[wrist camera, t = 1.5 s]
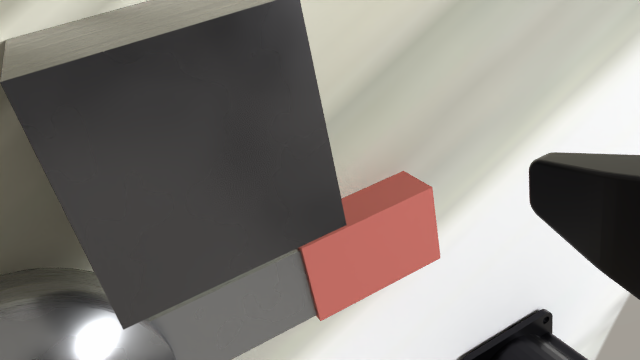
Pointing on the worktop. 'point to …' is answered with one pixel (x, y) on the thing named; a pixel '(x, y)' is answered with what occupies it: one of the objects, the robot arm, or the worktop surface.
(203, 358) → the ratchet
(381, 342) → the worktop surface
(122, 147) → the brushed grey cube
